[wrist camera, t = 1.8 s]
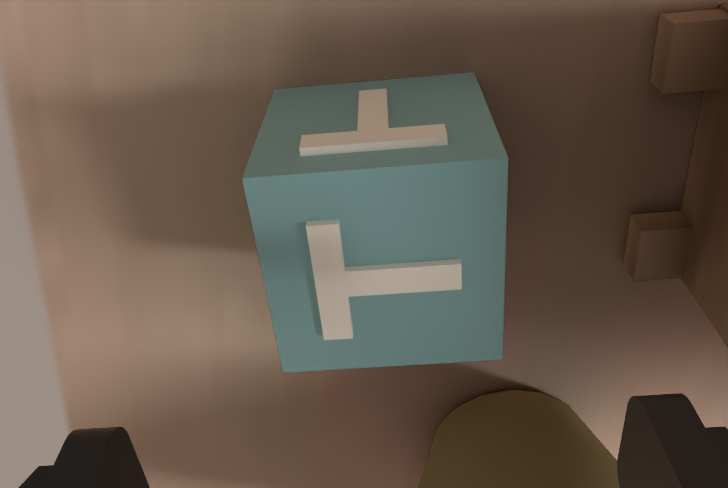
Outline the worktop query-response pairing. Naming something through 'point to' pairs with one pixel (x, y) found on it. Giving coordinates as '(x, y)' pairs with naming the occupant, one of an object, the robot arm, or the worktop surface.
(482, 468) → the squeeze bottle
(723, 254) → the screen
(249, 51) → the worktop surface
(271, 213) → the cube
